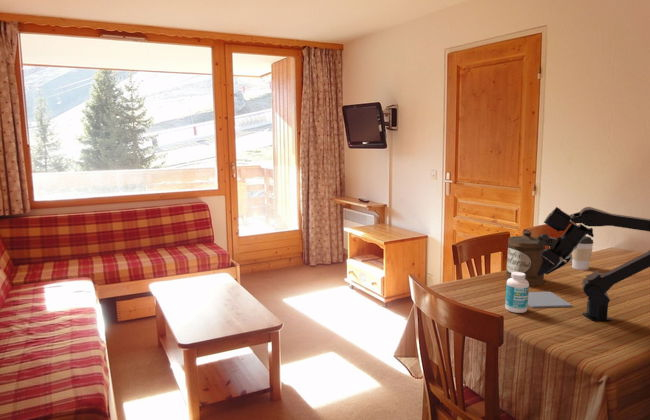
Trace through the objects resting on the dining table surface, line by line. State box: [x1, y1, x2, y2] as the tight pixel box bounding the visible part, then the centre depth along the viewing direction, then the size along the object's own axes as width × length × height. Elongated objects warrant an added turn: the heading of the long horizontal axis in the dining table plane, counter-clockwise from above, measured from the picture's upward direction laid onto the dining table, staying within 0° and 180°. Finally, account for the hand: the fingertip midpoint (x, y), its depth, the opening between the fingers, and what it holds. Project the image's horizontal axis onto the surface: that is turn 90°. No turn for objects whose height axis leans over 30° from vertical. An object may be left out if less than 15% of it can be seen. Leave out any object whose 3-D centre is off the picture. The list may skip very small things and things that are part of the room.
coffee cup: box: [571, 235, 594, 271], centre depth 220 cm, size 9×9×15 cm
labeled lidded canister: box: [505, 229, 546, 287], centre depth 201 cm, size 15×15×22 cm
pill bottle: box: [504, 272, 530, 314], centre depth 168 cm, size 8×7×14 cm
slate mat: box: [528, 291, 573, 309], centre depth 179 cm, size 15×15×1 cm
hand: (542, 274), depth 167 cm, fingers open, 9 cm apart
